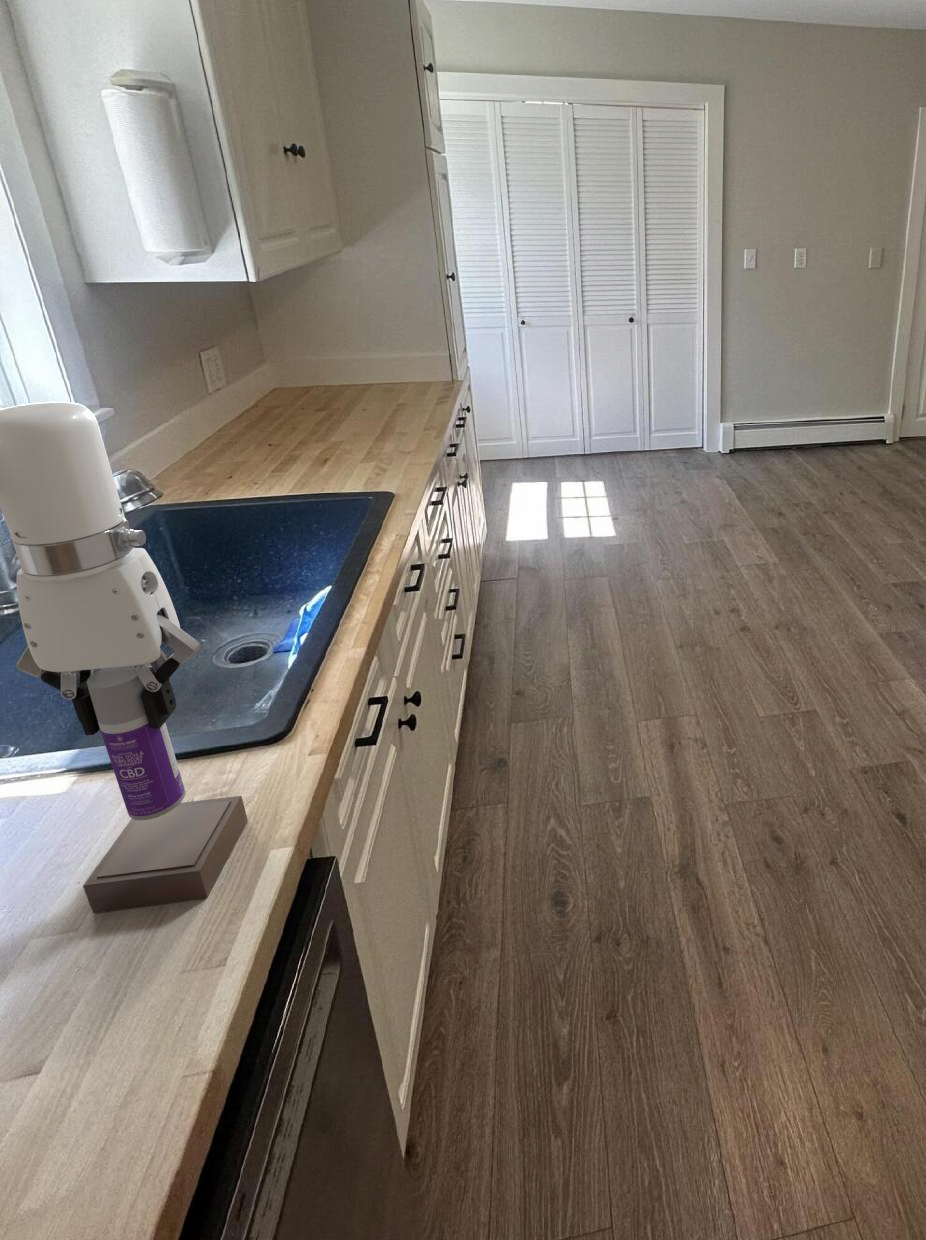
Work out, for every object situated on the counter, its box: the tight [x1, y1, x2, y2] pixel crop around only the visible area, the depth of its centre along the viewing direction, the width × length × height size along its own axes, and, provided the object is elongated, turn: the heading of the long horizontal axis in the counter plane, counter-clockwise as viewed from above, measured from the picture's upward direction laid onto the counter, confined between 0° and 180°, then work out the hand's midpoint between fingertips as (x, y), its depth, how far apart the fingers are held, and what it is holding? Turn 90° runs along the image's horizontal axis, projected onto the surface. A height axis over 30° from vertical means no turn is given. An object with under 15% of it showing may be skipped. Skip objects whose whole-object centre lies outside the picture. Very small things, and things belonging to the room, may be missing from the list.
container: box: [87, 666, 186, 820], centre depth 70 cm, size 5×5×15 cm
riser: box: [82, 795, 249, 914], centre depth 75 cm, size 10×10×4 cm
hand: (131, 720), depth 69 cm, fingers closed on container, 4 cm apart
